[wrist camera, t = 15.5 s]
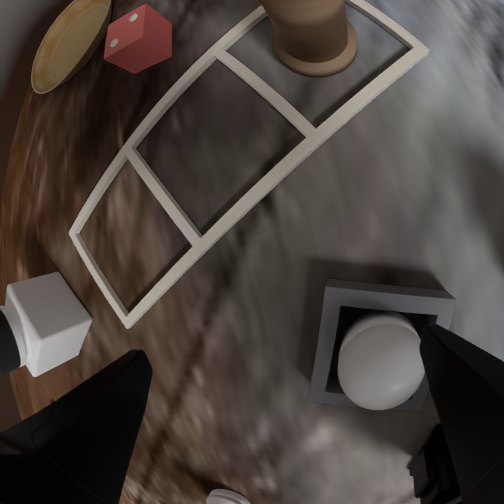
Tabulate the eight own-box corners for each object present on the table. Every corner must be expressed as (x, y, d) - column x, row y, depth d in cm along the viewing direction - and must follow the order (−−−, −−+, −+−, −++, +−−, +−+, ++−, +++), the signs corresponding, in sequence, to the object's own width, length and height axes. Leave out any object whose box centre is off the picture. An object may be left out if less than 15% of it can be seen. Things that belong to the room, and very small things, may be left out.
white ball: (424, 312, 15) (448, 347, 11) (405, 381, 16) (415, 430, 11) (346, 304, 17) (344, 339, 12) (333, 375, 18) (325, 423, 13)
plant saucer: (96, -11, 21) (84, -18, 19) (146, 4, 19) (131, -7, 17) (36, 75, 26) (23, 71, 23) (66, 117, 24) (48, 113, 22)
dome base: (446, 290, 15) (456, 299, 13) (416, 395, 17) (420, 411, 15) (327, 278, 18) (325, 286, 16) (311, 385, 19) (307, 401, 17)
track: (312, -24, 14) (311, -29, 14) (428, 54, 13) (429, 50, 13) (72, 232, 25) (68, 232, 24) (131, 326, 24) (127, 329, 23)
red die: (171, 24, 18) (145, 2, 15) (171, 56, 19) (141, 36, 15) (136, 41, 20) (107, 24, 16) (134, 74, 20) (102, 58, 16)
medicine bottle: (59, 269, 26) (-34, 293, 15) (94, 318, 25) (-4, 360, 14) (47, 310, 29) (-30, 338, 17) (79, 355, 27) (0, 396, 16)
